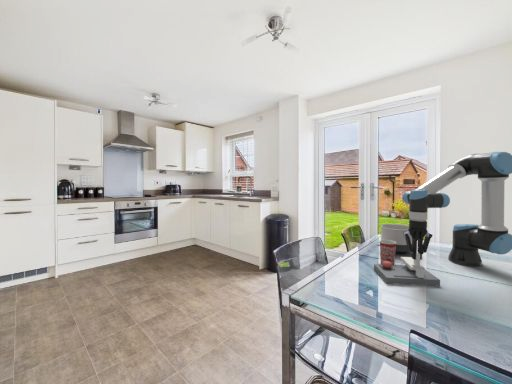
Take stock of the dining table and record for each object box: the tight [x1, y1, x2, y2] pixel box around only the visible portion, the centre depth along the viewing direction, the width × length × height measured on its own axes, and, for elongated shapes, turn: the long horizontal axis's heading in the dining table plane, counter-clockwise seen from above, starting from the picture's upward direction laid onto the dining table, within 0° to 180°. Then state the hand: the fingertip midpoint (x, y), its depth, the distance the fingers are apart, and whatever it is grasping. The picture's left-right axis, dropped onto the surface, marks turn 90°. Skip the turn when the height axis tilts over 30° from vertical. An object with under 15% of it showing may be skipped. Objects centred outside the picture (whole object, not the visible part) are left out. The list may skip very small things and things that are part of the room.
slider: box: [416, 265, 426, 278], centre depth 114 cm, size 3×3×5 cm
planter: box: [380, 223, 412, 254], centre depth 161 cm, size 19×19×18 cm
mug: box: [379, 239, 397, 265], centre depth 142 cm, size 13×9×14 cm
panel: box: [373, 263, 441, 287], centre depth 122 cm, size 24×18×5 cm
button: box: [381, 261, 392, 268], centre depth 127 cm, size 4×4×2 cm
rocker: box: [400, 256, 424, 270], centre depth 124 cm, size 6×12×2 cm, turn 171°
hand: (416, 265), depth 119 cm, fingers closed
